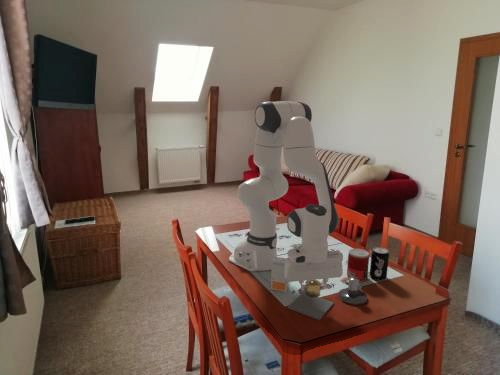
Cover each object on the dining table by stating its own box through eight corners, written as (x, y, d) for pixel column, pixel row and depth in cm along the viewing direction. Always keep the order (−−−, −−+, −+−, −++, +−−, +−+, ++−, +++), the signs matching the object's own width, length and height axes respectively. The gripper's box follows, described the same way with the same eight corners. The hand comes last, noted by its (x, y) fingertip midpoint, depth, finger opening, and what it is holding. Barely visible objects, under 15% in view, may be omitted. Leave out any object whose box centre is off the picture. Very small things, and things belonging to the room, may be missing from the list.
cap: (303, 290, 131) (303, 279, 130) (317, 289, 132) (317, 277, 130) (307, 298, 126) (308, 286, 125) (322, 296, 127) (323, 285, 126)
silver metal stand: (334, 299, 135) (335, 280, 133) (344, 287, 142) (345, 269, 141) (361, 308, 129) (363, 288, 127) (370, 295, 137) (372, 277, 135)
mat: (287, 308, 129) (287, 306, 129) (303, 293, 138) (303, 292, 138) (319, 320, 122) (319, 318, 122) (333, 303, 132) (333, 302, 131)
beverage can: (368, 279, 149) (371, 251, 146) (370, 272, 155) (372, 245, 152) (386, 282, 147) (389, 254, 144) (386, 275, 153) (389, 248, 150)
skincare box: (270, 289, 141) (271, 260, 138) (273, 284, 145) (274, 256, 142) (286, 292, 139) (287, 263, 136) (288, 287, 143) (290, 258, 140)
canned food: (368, 282, 146) (370, 257, 144) (347, 280, 148) (349, 255, 145) (366, 273, 154) (368, 249, 151) (346, 271, 155) (348, 247, 152)
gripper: (339, 246, 130) (337, 282, 133) (282, 251, 126) (282, 287, 130) (347, 254, 124) (344, 291, 127) (288, 259, 120) (287, 297, 124)
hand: (312, 289), depth 128 cm, fingers closed on cap, 5 cm apart
